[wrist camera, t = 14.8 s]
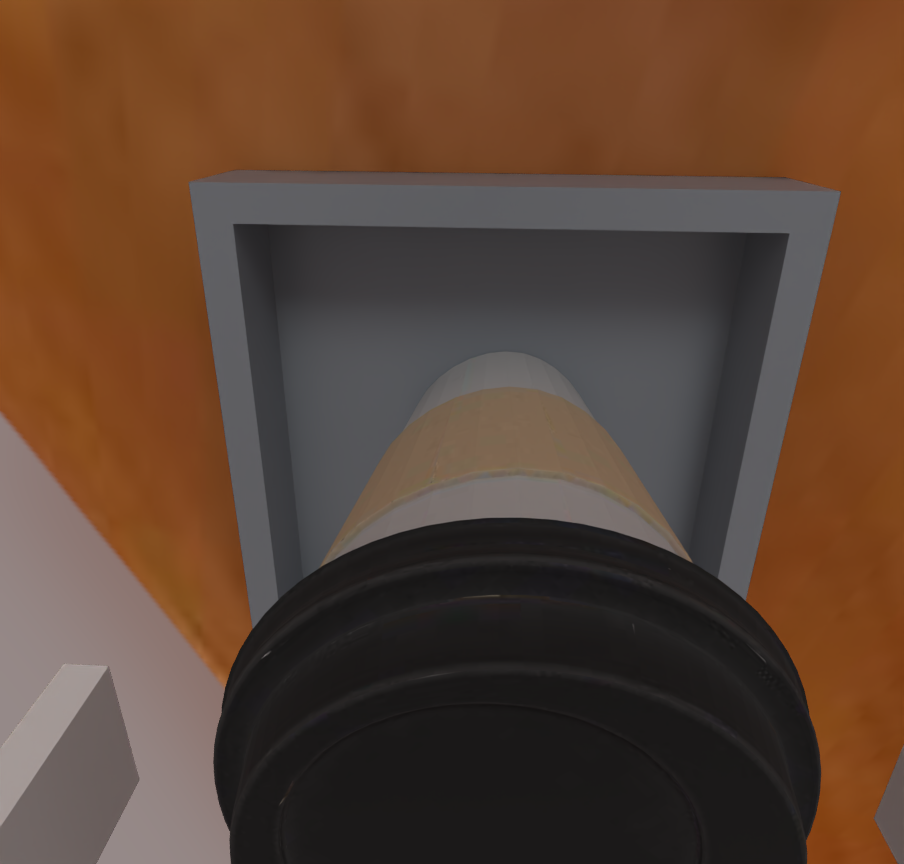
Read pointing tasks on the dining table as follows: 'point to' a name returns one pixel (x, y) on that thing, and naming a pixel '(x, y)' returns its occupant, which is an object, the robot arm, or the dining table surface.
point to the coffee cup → (513, 665)
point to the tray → (504, 332)
